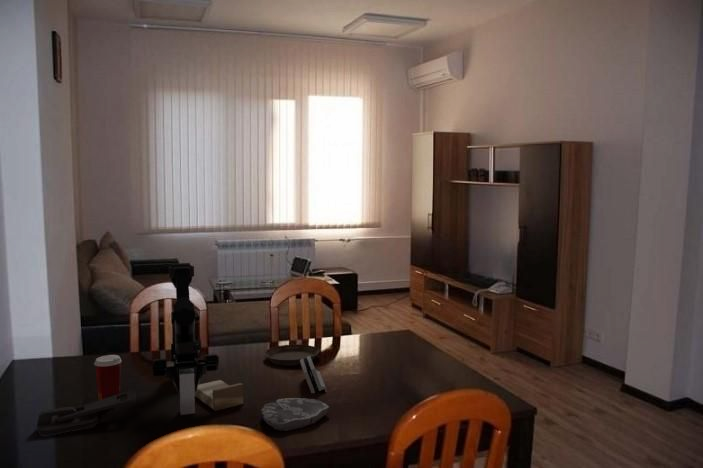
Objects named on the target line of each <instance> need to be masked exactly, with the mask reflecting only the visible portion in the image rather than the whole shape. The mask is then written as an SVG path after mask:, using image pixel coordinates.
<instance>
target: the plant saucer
mask: <svg viewBox="0 0 703 468" xmlns="http://www.w3.org/2000/svg"><path fill="white" fill-rule="evenodd" d="M319 353H320V349H319V348H318V347H317V346H313V345H310V344H297V343H296V344H281V345H278V346H277V345H276V346H274V347H271V348H268V349H266V351H264V356H265V358H266V359H267V360H268V361H270V362H271V363H272V364H275V365H280V366H286V367H287V366H288V367H289V366H290V367H291V366H293V367H294V366H301V362H300V360H301V359H305V361H306V358H307V357H308V356H310V357H311V359H312V361H313V360H315V359H316V358H317V357H318V356H319ZM306 363H307V361H306Z"/></svg>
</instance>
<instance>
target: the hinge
mask: <svg viewBox="0 0 703 468" xmlns="http://www.w3.org/2000/svg"><path fill="white" fill-rule="evenodd" d="M306 361H307V363H306ZM306 361H305V359H301V360H300V362H301V365H300V366H301V368H302V372H303V375H304V377H305V380H306V382H307V385H308V388H309V390H310V392H311V394H312V393H313V394H315V393H316V392H317V391H318V392H321V391H322V390H324V392H325V393H328V390H327V388H326V385H325V382H324V379H323V377H322V375H321V372H320V371H319V370H317V369H316V367H315V365H314V362H313V360H312V359H311V357H310V356H308V357H307V358H306Z"/></svg>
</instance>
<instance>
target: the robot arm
mask: <svg viewBox="0 0 703 468" xmlns="http://www.w3.org/2000/svg"><path fill="white" fill-rule="evenodd" d="M171 265H172V266H171ZM171 265H170V266H168V278H169V279H170V278H171V280H170V281H171V284H172V285H173V287H174V289H175V293H176V294H175V295H176V297H175V299H176V300H175V302H174V304H173V311H171V313H170V315H171V316H170V317H171V318H170V319H171V321H170V322H171V324H172V325H173V327H174V336H173V338H172V343H170V352H171V355H170V356H171V361H167V358H155V359H153V360H152V363H151V364H152V368H151V369H152V376H153V377H165V378H168V379H170V380H171V382H172V383H173V385H174V387H175V390H176V391H177V393H178V394H180V381H179V380H180V379H179V369H187V368H194V386H195V391H197V388H198V385H199V384H200V382H201V379H202V377H203V375H206V374H207V372H215V371H216V372H217V371H218V370H219V366H220V365H219V363H220V358H219V357H220V356H219V355H218V354H217V353H214V354H212V353H211V354H204V359H199V358H200V357H199V356H200V355H199V352H201V351H202V339H201V338H198V339H196V338H195V329H196V328H195V327H196V325H195V324H196V323H197V322H198V321H200V315H199V313H198V312H197V310H195V304H194V303H193V301H191V300H190V285H191V283H192V281H193V277H195V266H194V265H191V262H182V263H181V262H179V263H175V262H174V263H172V264H171Z"/></svg>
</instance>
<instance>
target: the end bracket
mask: <svg viewBox="0 0 703 468" xmlns="http://www.w3.org/2000/svg"><path fill="white" fill-rule="evenodd" d="M178 380H179V409H180V416H184V415H191V414H195V413H196V403H195V402H196V401H195V399H196V398H195V397H196V396H195V392H194V386H195V376H194V368H187V369H179V379H178Z"/></svg>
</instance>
